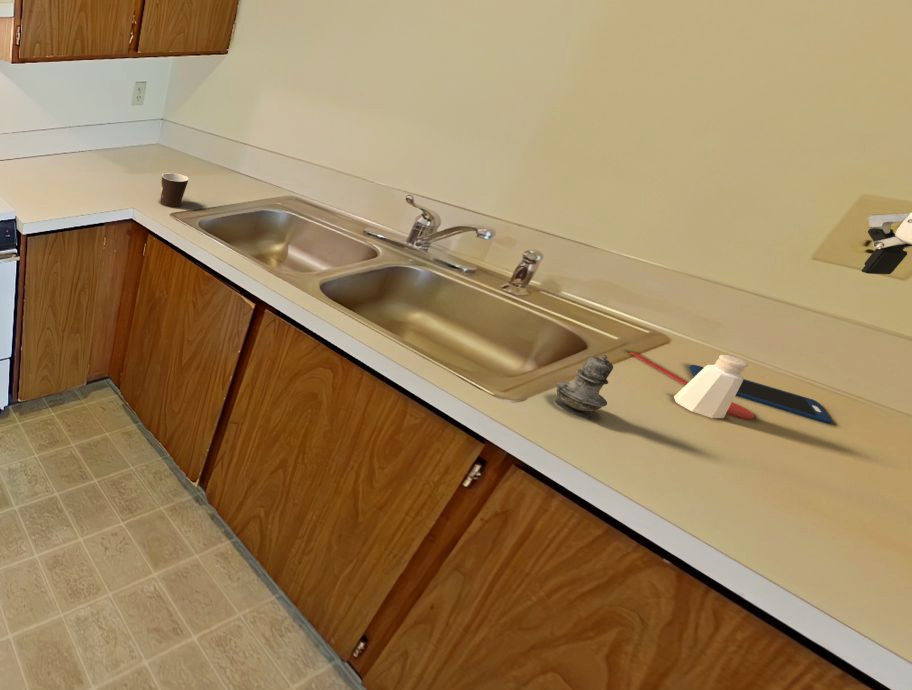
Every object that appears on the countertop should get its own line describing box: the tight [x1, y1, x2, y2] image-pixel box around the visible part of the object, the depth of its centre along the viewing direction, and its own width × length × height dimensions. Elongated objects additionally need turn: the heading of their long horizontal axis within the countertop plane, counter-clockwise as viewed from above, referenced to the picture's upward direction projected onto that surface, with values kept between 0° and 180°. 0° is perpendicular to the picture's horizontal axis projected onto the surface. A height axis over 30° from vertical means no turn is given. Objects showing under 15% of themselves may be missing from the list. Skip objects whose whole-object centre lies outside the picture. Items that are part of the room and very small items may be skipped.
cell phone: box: [689, 364, 833, 425], centre depth 93 cm, size 7×14×1 cm, turn 44°
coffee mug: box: [160, 172, 190, 208], centre depth 176 cm, size 12×9×10 cm
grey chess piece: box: [552, 354, 614, 419], centre depth 87 cm, size 6×6×12 cm
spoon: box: [629, 352, 755, 420], centre depth 95 cm, size 17×5×1 cm, turn 175°
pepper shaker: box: [673, 354, 749, 419], centre depth 88 cm, size 5×5×11 cm
